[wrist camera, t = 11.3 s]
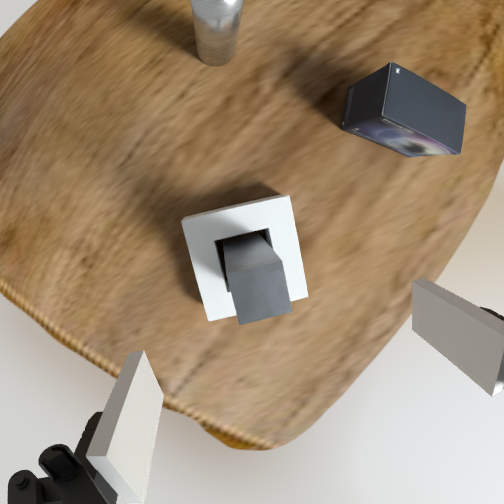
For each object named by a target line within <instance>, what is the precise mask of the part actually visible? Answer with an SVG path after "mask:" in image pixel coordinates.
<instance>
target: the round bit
mask: <svg viewBox="0 0 504 504" xmlns="http://www.w3.org/2000/svg"><path fill="white" fill-rule="evenodd" d="M243 4H244V0H191V7H192V15H193V22H194V30H195V37H196V45H197V52H198V56H199V58H200V60H201V61H202V62H204V63H205V64H207V65H210V66H222V65H225V64H227V63H228V62H230V61H231V60H232V59H233V57H234V55H235V51H236V45H237V39H238V33H239V27H240V21H241V15H242V9H243Z"/></svg>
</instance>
